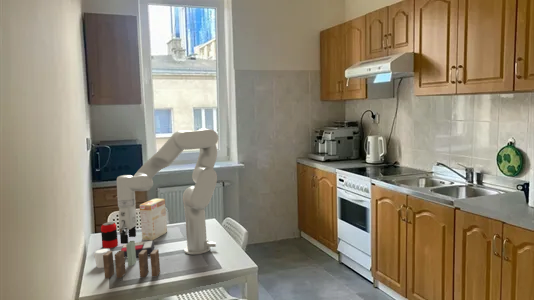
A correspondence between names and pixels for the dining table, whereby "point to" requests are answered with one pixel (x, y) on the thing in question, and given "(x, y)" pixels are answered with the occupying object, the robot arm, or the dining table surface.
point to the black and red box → (140, 247)
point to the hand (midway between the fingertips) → (128, 240)
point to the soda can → (109, 235)
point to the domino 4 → (143, 263)
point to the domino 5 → (155, 262)
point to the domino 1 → (108, 264)
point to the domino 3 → (131, 253)
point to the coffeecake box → (153, 219)
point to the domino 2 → (120, 264)
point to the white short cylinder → (100, 257)
